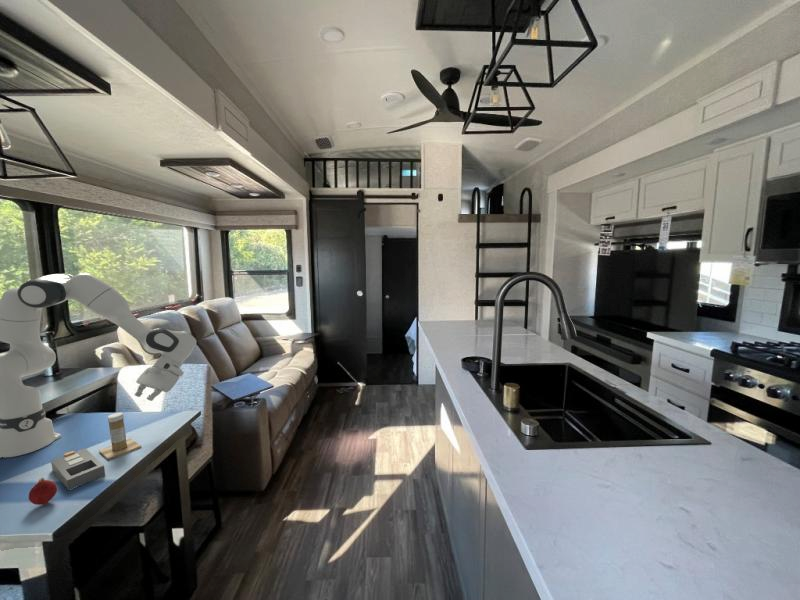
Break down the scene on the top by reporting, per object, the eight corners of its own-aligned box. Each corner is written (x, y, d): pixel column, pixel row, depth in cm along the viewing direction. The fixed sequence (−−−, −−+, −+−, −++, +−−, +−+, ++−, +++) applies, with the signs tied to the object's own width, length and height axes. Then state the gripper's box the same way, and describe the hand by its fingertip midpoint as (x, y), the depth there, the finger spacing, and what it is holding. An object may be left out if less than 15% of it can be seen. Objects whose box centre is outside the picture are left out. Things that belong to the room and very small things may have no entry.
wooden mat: (99, 452, 126) (98, 450, 126) (131, 440, 134) (131, 438, 134) (108, 460, 121) (108, 458, 121) (141, 447, 129) (141, 445, 129)
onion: (59, 503, 99) (55, 478, 98) (30, 514, 95) (26, 488, 94) (58, 494, 103) (54, 470, 102) (30, 504, 99) (26, 479, 98)
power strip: (48, 464, 119) (46, 453, 119) (81, 452, 127) (80, 441, 126) (68, 490, 105) (66, 478, 104) (105, 475, 112) (103, 463, 112)
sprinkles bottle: (116, 445, 129) (111, 412, 127) (130, 444, 130) (125, 411, 128) (109, 452, 125) (104, 418, 123) (123, 450, 126) (118, 416, 124)
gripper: (146, 360, 144) (122, 390, 136) (173, 366, 134) (149, 399, 127) (159, 367, 148) (136, 397, 141) (186, 373, 138) (163, 405, 131)
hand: (142, 398), depth 134 cm, fingers open, 8 cm apart
